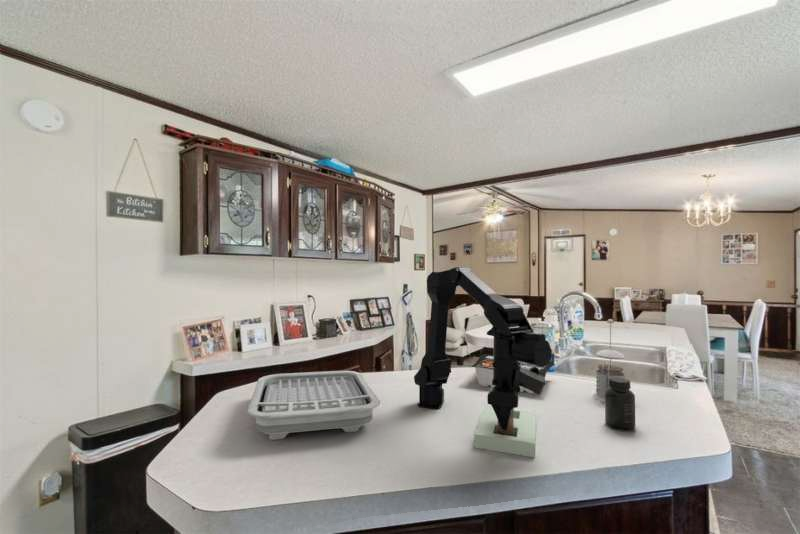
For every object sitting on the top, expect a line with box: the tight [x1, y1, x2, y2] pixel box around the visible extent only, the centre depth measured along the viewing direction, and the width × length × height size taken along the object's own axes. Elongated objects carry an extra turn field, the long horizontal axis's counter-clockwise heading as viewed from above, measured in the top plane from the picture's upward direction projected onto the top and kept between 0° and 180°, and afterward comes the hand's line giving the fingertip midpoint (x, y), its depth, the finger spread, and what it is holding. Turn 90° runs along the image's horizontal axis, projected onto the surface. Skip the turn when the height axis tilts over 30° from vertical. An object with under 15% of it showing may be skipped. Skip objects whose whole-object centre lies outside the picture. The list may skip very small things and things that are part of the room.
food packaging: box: [469, 353, 554, 395], centre depth 135 cm, size 25×8×23 cm
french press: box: [592, 318, 626, 403], centre depth 119 cm, size 10×12×25 cm
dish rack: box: [246, 370, 381, 441], centre depth 105 cm, size 32×37×8 cm
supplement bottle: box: [604, 378, 636, 432], centre depth 99 cm, size 7×7×12 cm
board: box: [473, 404, 537, 458], centre depth 93 cm, size 20×13×3 cm, turn 160°
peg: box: [497, 408, 514, 436], centre depth 88 cm, size 4×4×10 cm
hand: (505, 424), depth 88 cm, fingers open, 6 cm apart
